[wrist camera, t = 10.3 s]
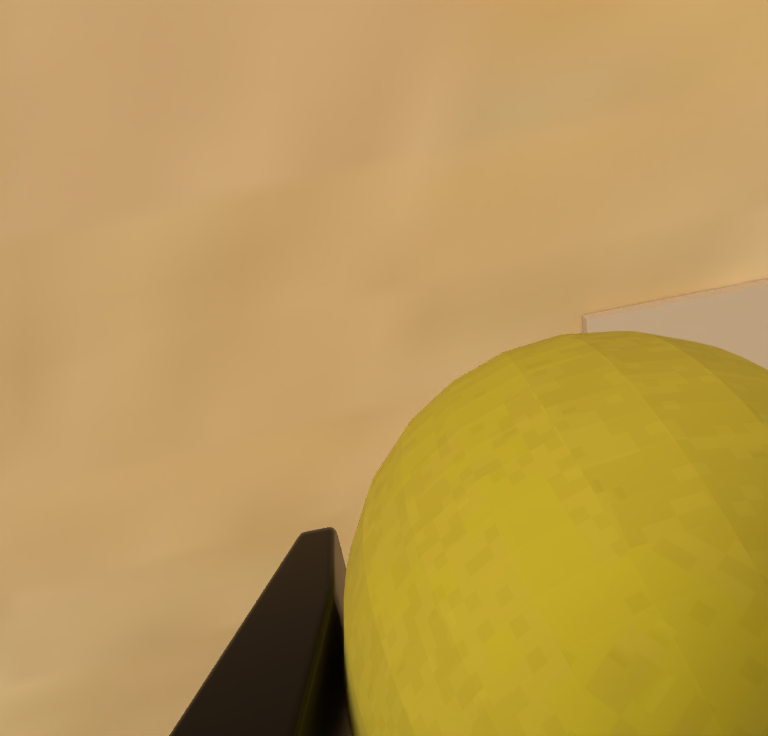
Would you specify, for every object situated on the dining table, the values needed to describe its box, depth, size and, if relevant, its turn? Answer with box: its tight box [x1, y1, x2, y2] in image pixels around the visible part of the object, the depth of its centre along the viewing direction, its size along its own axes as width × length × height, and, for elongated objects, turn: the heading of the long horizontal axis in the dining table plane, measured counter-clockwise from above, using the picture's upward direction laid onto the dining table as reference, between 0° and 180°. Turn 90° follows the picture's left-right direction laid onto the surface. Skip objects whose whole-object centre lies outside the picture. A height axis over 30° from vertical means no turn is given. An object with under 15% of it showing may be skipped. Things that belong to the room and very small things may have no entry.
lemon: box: [344, 331, 768, 736], centre depth 7 cm, size 6×6×8 cm
